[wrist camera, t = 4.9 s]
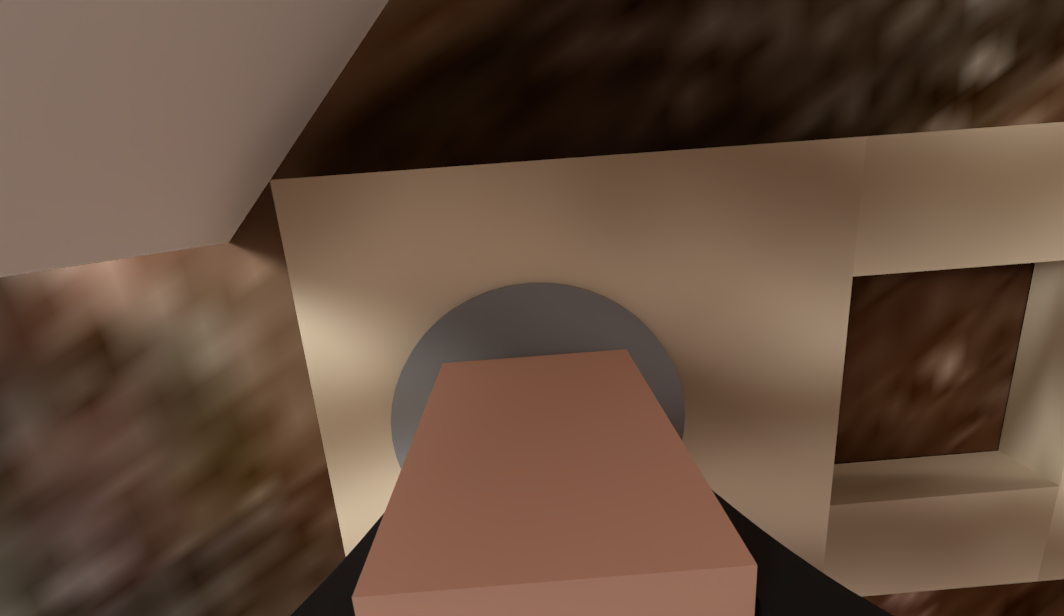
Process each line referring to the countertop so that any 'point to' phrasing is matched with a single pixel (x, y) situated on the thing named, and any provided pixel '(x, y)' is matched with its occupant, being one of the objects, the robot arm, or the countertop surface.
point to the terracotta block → (552, 502)
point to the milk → (153, 117)
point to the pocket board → (705, 323)
